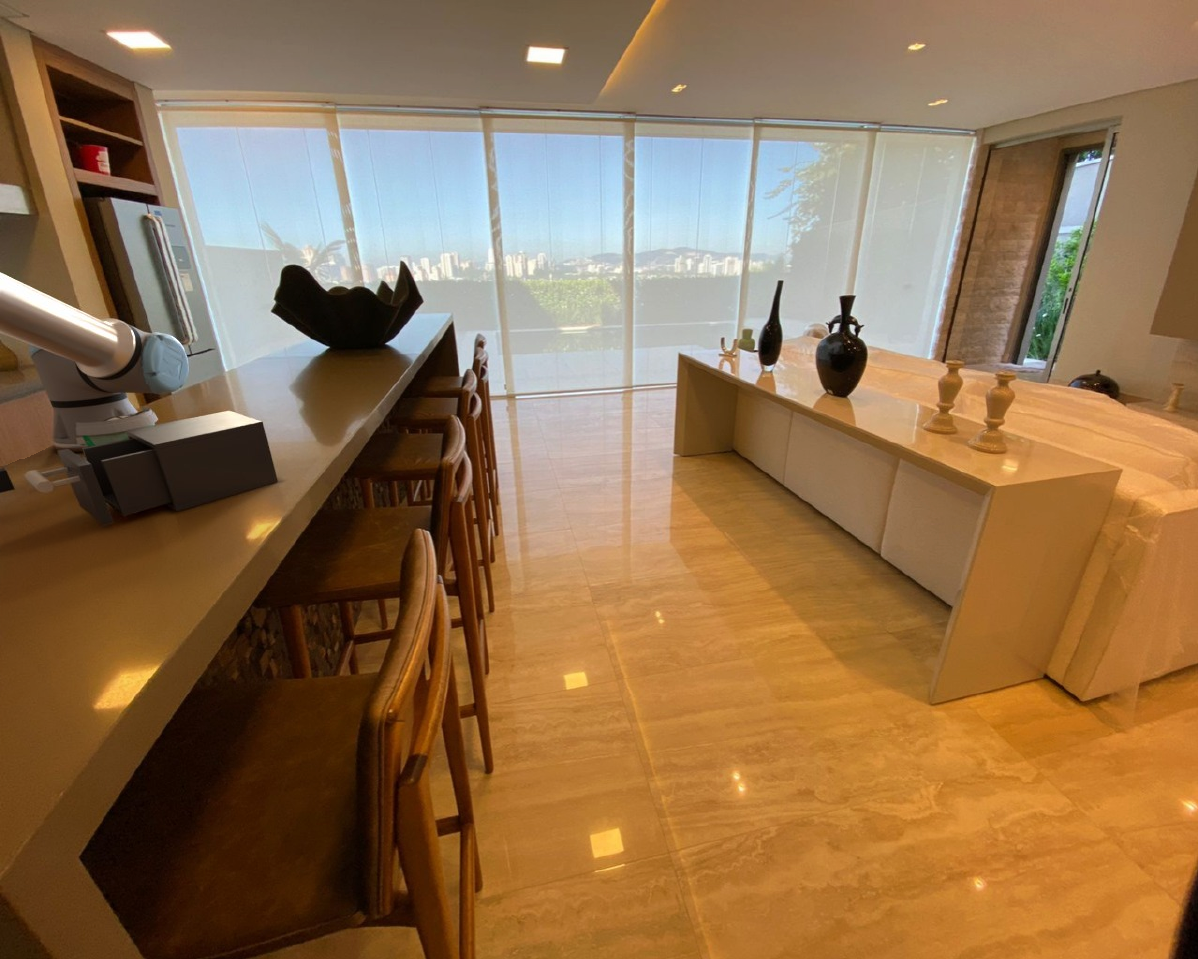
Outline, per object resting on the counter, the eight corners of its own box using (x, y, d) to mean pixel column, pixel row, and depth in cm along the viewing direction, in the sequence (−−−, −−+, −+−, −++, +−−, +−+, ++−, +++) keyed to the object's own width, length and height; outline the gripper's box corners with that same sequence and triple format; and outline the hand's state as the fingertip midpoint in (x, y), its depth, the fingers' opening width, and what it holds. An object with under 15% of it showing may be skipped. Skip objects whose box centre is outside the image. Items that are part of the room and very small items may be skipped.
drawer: (60, 538, 70) (33, 476, 66) (40, 516, 76) (14, 459, 72) (213, 493, 83) (197, 440, 80) (185, 478, 89) (169, 428, 86)
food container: (122, 481, 91) (101, 425, 87) (94, 479, 92) (72, 423, 88) (187, 457, 102) (171, 407, 98) (161, 455, 103) (144, 405, 99)
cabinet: (176, 511, 79) (154, 444, 75) (147, 493, 86) (125, 430, 82) (278, 481, 90) (262, 421, 86) (245, 466, 97) (229, 410, 93)
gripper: (-306, 566, 56) (11, 493, 73) (-323, 609, 49) (32, 517, 66) (-355, 502, 53) (-13, 442, 71) (-380, 537, 46) (7, 461, 64)
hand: (9, 478), depth 69 cm, fingers closed
